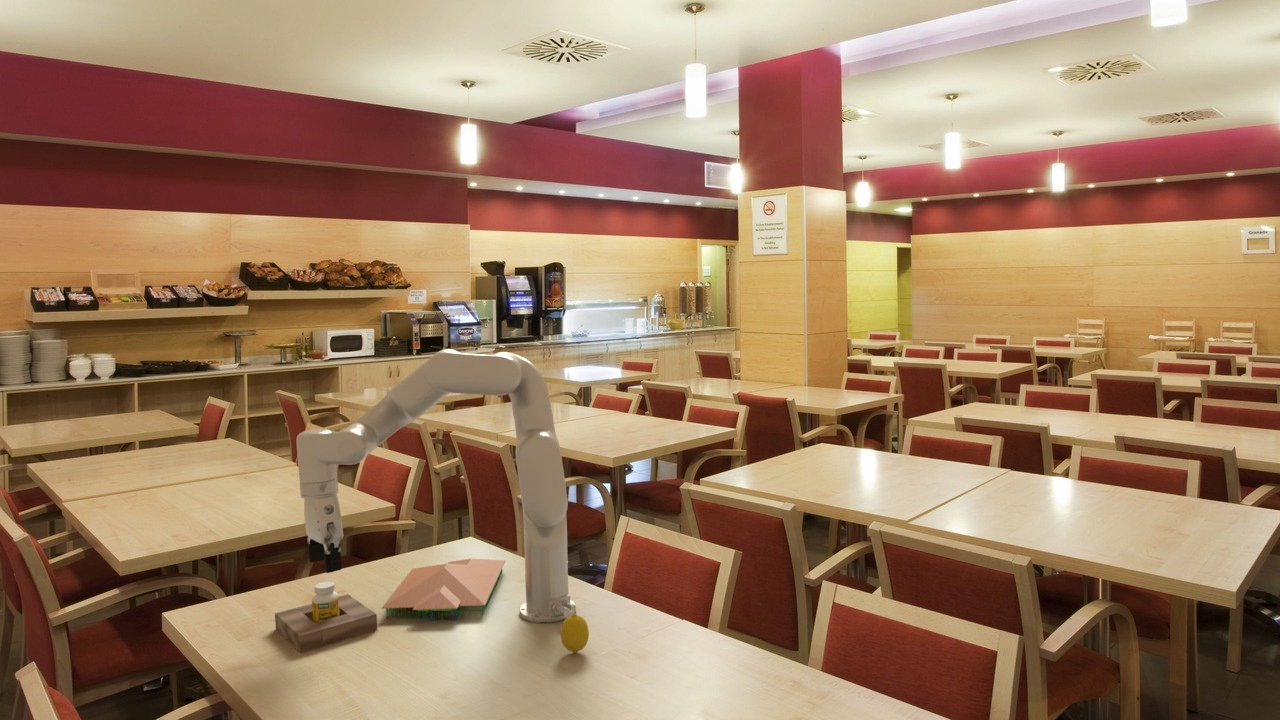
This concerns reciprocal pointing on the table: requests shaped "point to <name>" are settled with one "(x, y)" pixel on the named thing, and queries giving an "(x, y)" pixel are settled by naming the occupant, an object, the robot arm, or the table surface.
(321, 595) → the supplement bottle
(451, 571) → the house
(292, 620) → the holder
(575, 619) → the lemon
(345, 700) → the table surface
